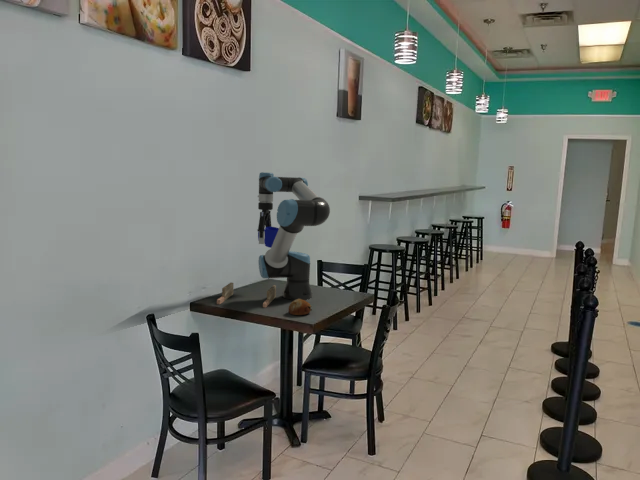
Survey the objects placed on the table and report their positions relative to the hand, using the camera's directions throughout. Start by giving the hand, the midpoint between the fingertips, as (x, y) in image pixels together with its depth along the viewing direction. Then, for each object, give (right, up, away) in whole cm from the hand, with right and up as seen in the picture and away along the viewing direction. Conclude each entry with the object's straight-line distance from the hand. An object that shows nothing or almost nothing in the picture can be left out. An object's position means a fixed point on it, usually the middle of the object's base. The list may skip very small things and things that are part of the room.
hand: (264, 242), depth 274 cm
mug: (+1, -2, +4) cm, 4 cm away
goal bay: (-8, -30, -24) cm, 39 cm away
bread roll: (+22, -33, -38) cm, 55 cm away
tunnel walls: (-6, -28, -13) cm, 32 cm away
